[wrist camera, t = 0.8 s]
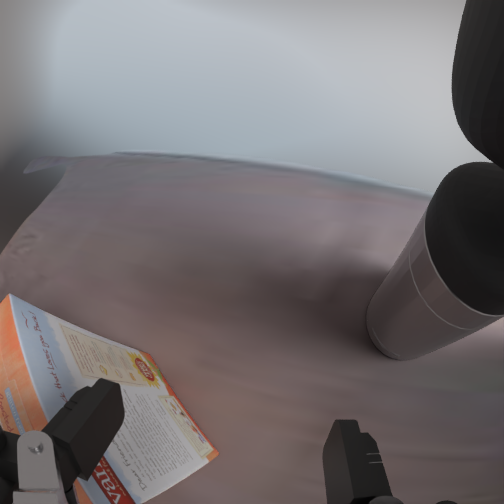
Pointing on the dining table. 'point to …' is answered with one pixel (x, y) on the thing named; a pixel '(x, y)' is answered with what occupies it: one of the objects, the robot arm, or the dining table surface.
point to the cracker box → (86, 374)
